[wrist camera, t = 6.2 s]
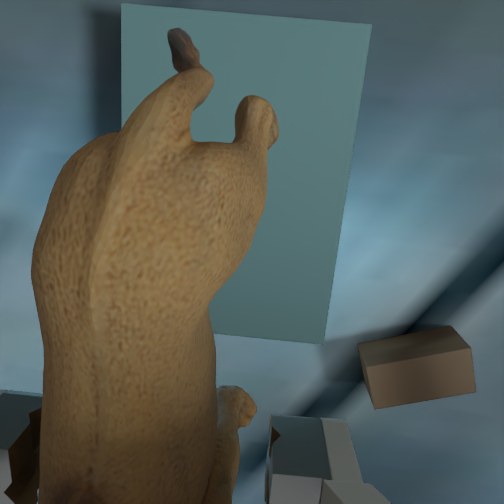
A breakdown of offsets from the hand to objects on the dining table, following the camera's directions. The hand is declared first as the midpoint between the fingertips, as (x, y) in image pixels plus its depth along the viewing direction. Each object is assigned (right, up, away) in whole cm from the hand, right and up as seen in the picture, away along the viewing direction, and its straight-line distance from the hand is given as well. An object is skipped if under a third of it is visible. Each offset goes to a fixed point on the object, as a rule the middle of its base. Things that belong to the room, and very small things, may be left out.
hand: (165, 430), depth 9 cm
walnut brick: (+12, -3, +19) cm, 23 cm away
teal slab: (+1, +8, +16) cm, 18 cm away
